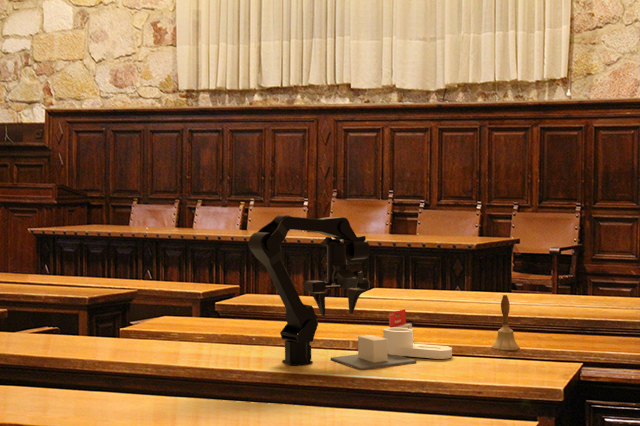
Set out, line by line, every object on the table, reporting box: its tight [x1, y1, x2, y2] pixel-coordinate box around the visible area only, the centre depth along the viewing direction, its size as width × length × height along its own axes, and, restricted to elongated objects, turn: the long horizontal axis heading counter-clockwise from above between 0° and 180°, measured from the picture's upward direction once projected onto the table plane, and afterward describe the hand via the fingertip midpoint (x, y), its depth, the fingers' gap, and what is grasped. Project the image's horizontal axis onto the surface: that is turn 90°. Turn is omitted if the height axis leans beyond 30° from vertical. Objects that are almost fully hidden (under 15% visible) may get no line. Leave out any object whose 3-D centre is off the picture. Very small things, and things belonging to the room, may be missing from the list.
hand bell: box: [491, 294, 521, 351], centre depth 245 cm, size 8×8×16 cm
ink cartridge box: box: [388, 308, 413, 330], centre depth 256 cm, size 2×11×10 cm, turn 146°
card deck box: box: [357, 334, 387, 362], centre depth 226 cm, size 8×4×6 cm, turn 29°
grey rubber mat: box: [330, 353, 417, 371], centre depth 226 cm, size 18×16×1 cm
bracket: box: [382, 327, 453, 360], centre depth 234 cm, size 20×9×7 cm, turn 71°
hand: (337, 314), depth 233 cm, fingers open, 9 cm apart
